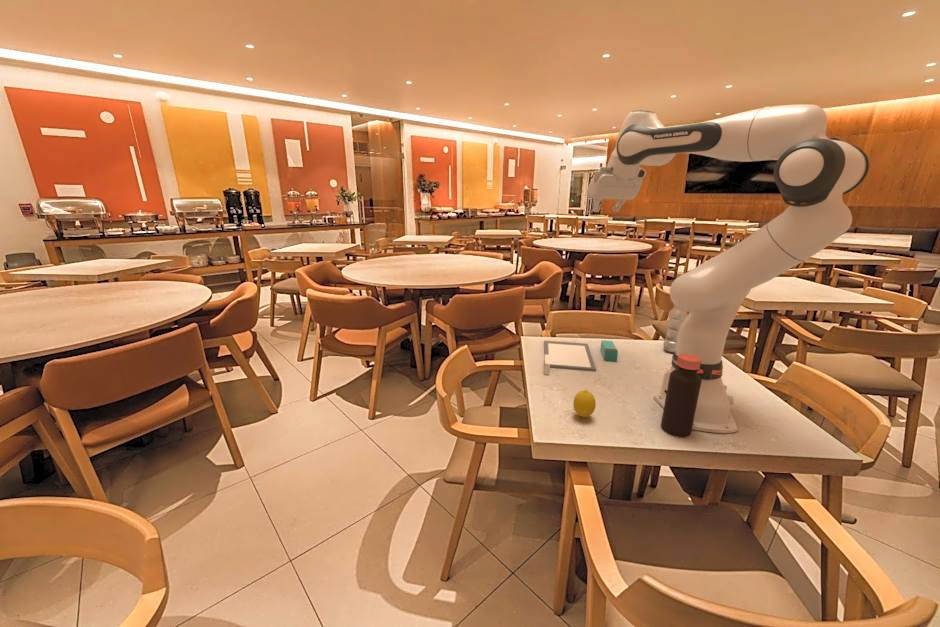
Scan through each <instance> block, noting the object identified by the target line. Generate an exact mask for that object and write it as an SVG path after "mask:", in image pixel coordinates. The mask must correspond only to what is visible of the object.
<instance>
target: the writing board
mask: <svg viewBox="0 0 940 627" xmlns="http://www.w3.org/2000/svg"><path fill="white" fill-rule="evenodd" d="M543 348H544V349H543V351H544V352H543V353H544V354H543V355H544V356H543V357H545V354H548V355H549V356H550V369H562V370H573V371H574V370H575V371H588V372H597V367H596V365H595V362H594V359H593V356H592V353H591V350H590V347H589V344H588V343H583V342H582V343H581V342H569V341H568V342H567V341H555V340H553V341H551V340H543Z"/></svg>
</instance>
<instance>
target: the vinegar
mask: <svg viewBox="0 0 940 627" xmlns="http://www.w3.org/2000/svg"><path fill="white" fill-rule="evenodd" d="M676 364H677V365H676V366H677V369H675V370H674V371H672V372H671V373H670V377H669V382H668V388H667V393H666V399H665V405H664V408H663V412H662V416H661V422H660V427H661V429H662V430H663V432H664V433H666V432H667V434H668V435H670V434H671V436H673V435H674V436H673V437H676V436H678V437H677V438H687V436H688V437H689V436H691V434H692V430H693V429H692V425H693V421H694V416H695V411H696V406H697V401H698V396H699V392H700V387H701V382H702V379H701V377H700V376H699V375H698V373H697V371H699V368H700V364H701V359H700V358H699V357H697V356H695V355H691V354H679V355H678V357H677V363H676Z"/></svg>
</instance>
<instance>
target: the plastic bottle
mask: <svg viewBox="0 0 940 627" xmlns="http://www.w3.org/2000/svg"><path fill="white" fill-rule="evenodd" d="M673 306H674V307H673V308H671V310H670V311H669V312H668V317H667V318H668V319H667V320H668V323H667V324H668V325H667V332H666V334H665V339H664V340H663V349H664V350H665V351H666V352H668V353H672V354H673V353H674V351H676V345H677V340H678V334H679V329H680V326H681V324H682V323H683V322H684V321H685V319H686V318H687V316H688V315H689V314H688V312H687V311H683V310H680V309H679V308H677V307H676V306H675V305H674V304H673Z"/></svg>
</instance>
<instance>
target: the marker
mask: <svg viewBox="0 0 940 627" xmlns="http://www.w3.org/2000/svg"><path fill="white" fill-rule="evenodd" d="M599 350H600V352H601V355H602V357H603V360H604V361H605V362H612V363H618V357H619V356H618V355H619V350H618V349H617V347H616V345H615V343H614V341H613V340H605V339H602V340H601V342H600V349H599Z"/></svg>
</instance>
